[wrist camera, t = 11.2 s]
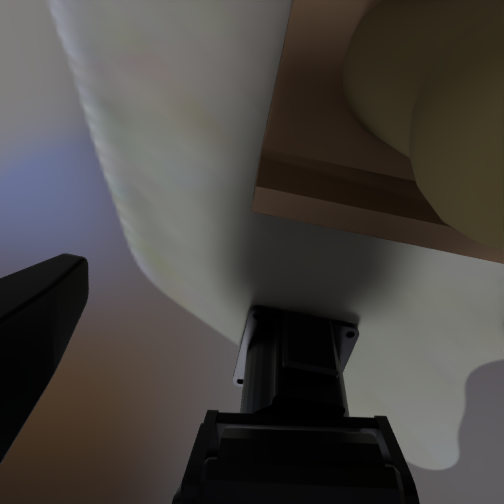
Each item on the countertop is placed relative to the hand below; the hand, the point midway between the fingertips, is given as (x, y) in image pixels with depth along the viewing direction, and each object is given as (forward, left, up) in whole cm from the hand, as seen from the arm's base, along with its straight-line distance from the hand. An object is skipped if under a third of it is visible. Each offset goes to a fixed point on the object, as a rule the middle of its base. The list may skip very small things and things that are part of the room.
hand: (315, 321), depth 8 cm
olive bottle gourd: (+4, -4, -12) cm, 13 cm away
